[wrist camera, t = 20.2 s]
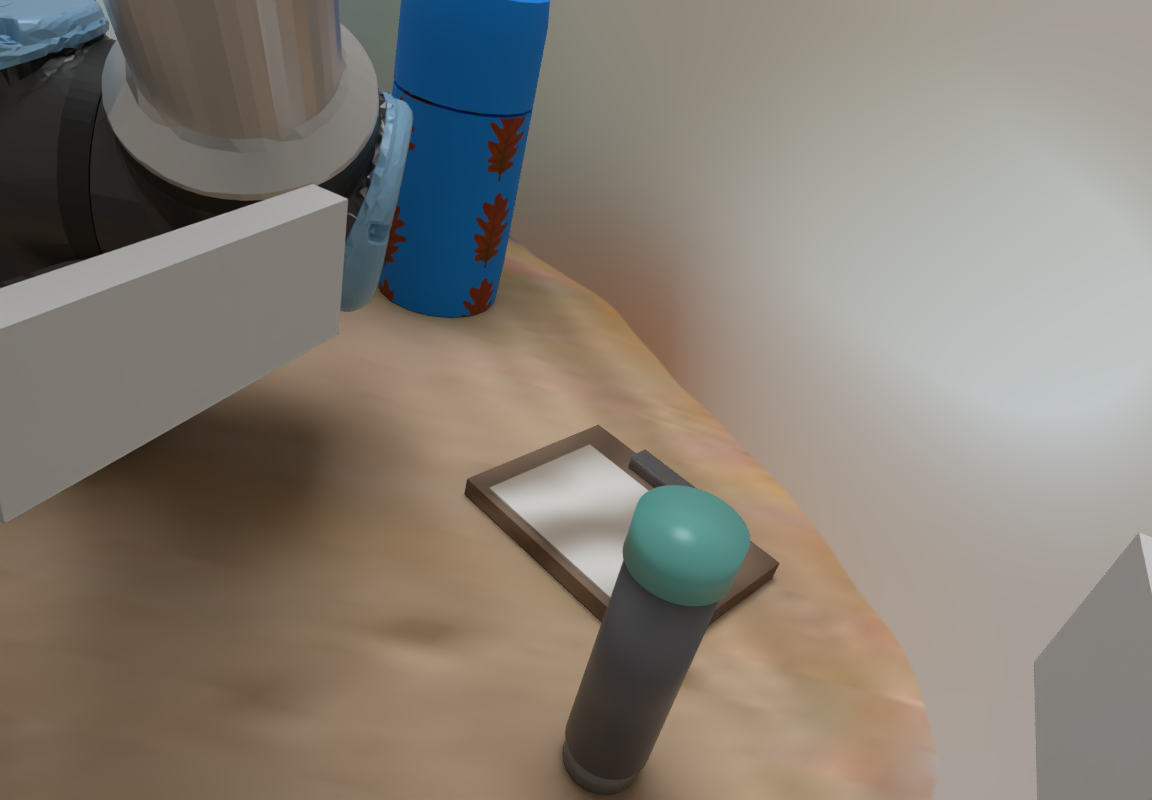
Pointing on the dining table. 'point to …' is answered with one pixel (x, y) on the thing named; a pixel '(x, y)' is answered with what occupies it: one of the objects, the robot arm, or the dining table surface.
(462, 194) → the thermos
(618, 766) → the marker
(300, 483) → the dining table surface
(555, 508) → the brown picture frame
